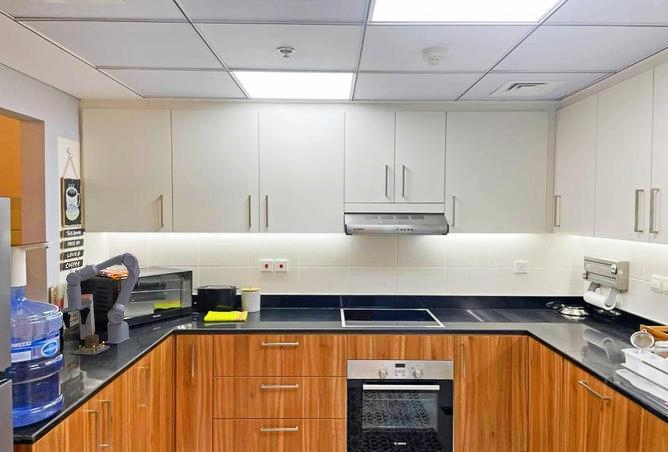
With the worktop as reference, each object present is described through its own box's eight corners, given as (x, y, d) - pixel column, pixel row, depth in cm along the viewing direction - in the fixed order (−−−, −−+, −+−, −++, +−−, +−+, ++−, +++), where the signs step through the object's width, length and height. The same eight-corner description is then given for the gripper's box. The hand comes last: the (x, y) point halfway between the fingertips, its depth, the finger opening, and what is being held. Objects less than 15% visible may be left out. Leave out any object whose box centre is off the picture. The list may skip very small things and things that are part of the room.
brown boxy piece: (90, 345, 212) (89, 333, 212) (106, 346, 210) (106, 333, 210) (77, 351, 205) (76, 338, 204) (94, 351, 202) (93, 338, 202)
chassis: (90, 347, 214) (89, 339, 213) (109, 347, 211) (109, 340, 211) (73, 353, 204) (73, 346, 204) (94, 354, 201) (93, 347, 201)
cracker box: (82, 333, 239) (80, 294, 238) (95, 331, 241) (93, 293, 240) (79, 340, 226) (77, 299, 225) (92, 338, 228) (90, 297, 228)
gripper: (64, 301, 204) (65, 330, 204) (94, 295, 217) (95, 323, 217) (55, 300, 207) (56, 329, 208) (85, 294, 220) (86, 321, 220)
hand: (75, 326), depth 213 cm, fingers open, 7 cm apart
